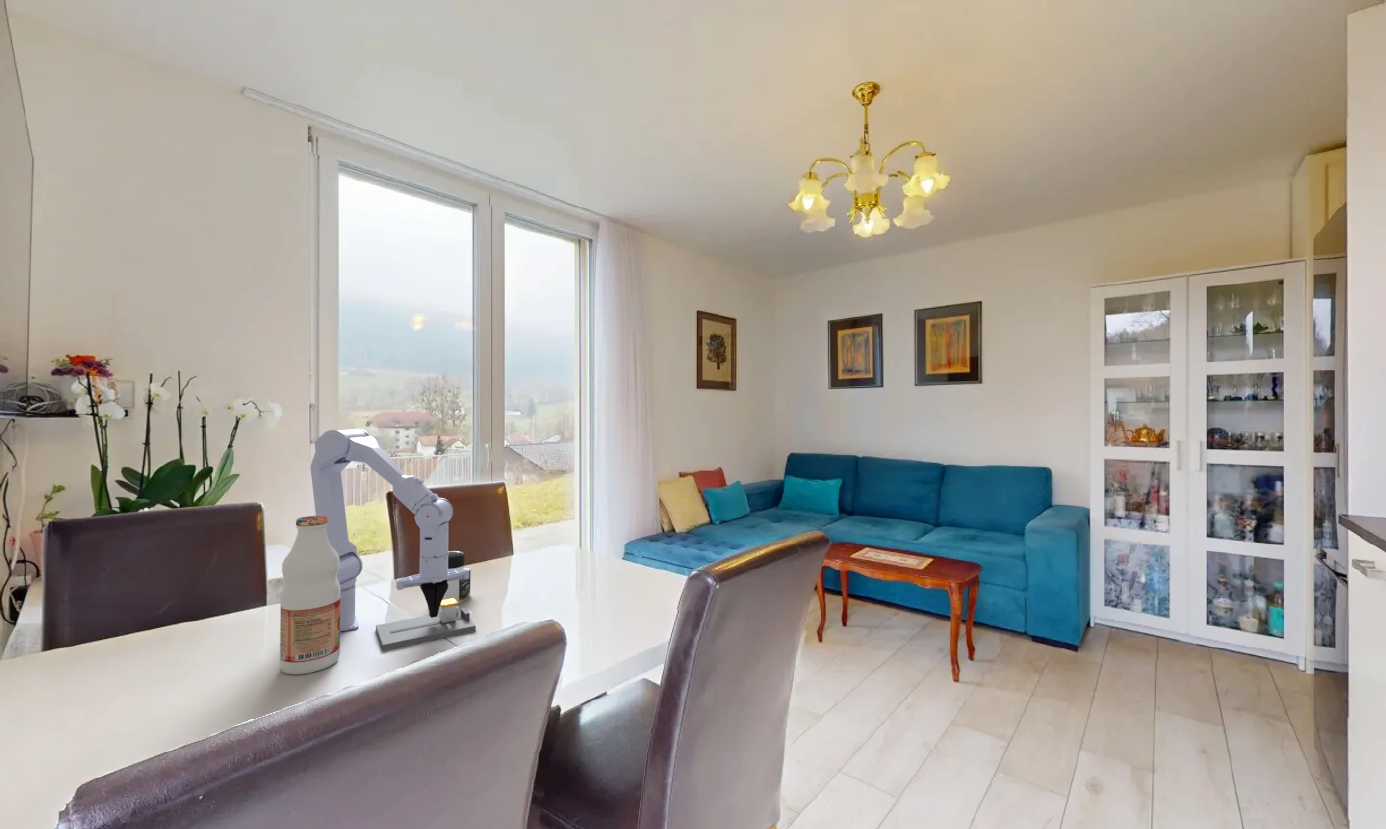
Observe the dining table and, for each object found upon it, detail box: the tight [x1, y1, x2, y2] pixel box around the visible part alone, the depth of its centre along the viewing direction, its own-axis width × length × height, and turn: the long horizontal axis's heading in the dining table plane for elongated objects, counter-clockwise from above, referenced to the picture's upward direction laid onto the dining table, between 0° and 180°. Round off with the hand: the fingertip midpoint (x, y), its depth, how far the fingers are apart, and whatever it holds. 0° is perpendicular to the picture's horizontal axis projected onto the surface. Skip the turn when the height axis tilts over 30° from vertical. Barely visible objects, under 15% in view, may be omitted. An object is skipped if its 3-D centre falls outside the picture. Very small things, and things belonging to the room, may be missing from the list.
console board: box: [375, 605, 477, 651], centre depth 122 cm, size 18×12×3 cm, turn 126°
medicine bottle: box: [442, 550, 472, 605], centre depth 142 cm, size 7×7×12 cm
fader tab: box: [438, 598, 458, 623], centre depth 124 cm, size 3×4×4 cm
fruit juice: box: [279, 515, 341, 676], centre depth 105 cm, size 9×9×28 cm
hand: (433, 615), depth 123 cm, fingers closed
